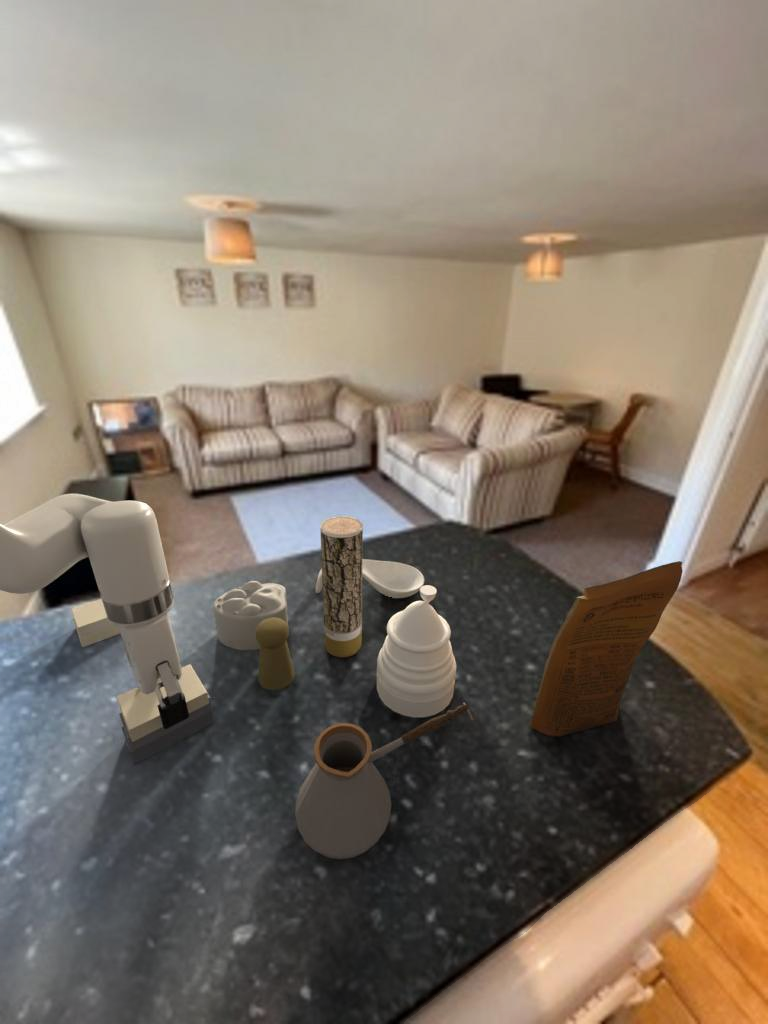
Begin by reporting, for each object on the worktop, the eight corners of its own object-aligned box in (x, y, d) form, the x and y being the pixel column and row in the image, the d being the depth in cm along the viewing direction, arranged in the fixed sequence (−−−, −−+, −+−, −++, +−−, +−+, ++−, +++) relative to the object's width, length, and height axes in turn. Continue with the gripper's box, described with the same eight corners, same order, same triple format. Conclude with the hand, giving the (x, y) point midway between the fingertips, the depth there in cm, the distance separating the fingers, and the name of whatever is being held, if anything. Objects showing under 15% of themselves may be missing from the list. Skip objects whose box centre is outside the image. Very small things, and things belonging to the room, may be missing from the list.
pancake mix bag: (646, 725, 68) (707, 570, 57) (538, 755, 63) (580, 591, 52) (614, 692, 74) (663, 545, 62) (513, 716, 69) (545, 561, 57)
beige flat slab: (132, 742, 58) (128, 730, 57) (119, 707, 63) (116, 696, 62) (209, 703, 64) (207, 692, 63) (192, 674, 69) (190, 663, 68)
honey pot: (403, 647, 83) (408, 564, 75) (466, 679, 76) (479, 591, 68) (360, 691, 73) (361, 600, 65) (428, 732, 66) (438, 636, 59)
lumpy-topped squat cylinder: (289, 645, 82) (286, 606, 79) (214, 654, 80) (208, 615, 76) (287, 610, 91) (285, 574, 88) (221, 617, 89) (215, 581, 85)
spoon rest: (420, 576, 104) (422, 549, 101) (426, 607, 94) (428, 578, 91) (319, 575, 104) (318, 548, 101) (313, 606, 93) (311, 576, 90)
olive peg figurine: (282, 657, 79) (277, 607, 75) (301, 676, 75) (298, 624, 71) (251, 675, 75) (244, 623, 71) (270, 696, 72) (264, 642, 67)
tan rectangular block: (82, 647, 80) (75, 628, 78) (75, 627, 85) (69, 608, 83) (143, 625, 86) (139, 606, 84) (134, 607, 91) (130, 589, 89)
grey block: (134, 764, 60) (126, 739, 58) (125, 739, 64) (117, 714, 62) (214, 721, 67) (210, 697, 65) (202, 700, 70) (198, 677, 68)
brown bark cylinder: (339, 665, 78) (336, 539, 68) (317, 644, 83) (312, 523, 72) (369, 648, 82) (371, 526, 72) (346, 629, 87) (345, 512, 76)
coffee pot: (302, 886, 48) (294, 798, 42) (291, 786, 58) (284, 702, 52) (480, 831, 54) (497, 746, 48) (443, 748, 64) (452, 669, 58)
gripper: (91, 579, 59) (121, 676, 67) (122, 650, 47) (154, 759, 55) (152, 560, 64) (173, 653, 71) (194, 621, 52) (215, 725, 59)
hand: (165, 699), depth 63 cm, fingers open, 9 cm apart
